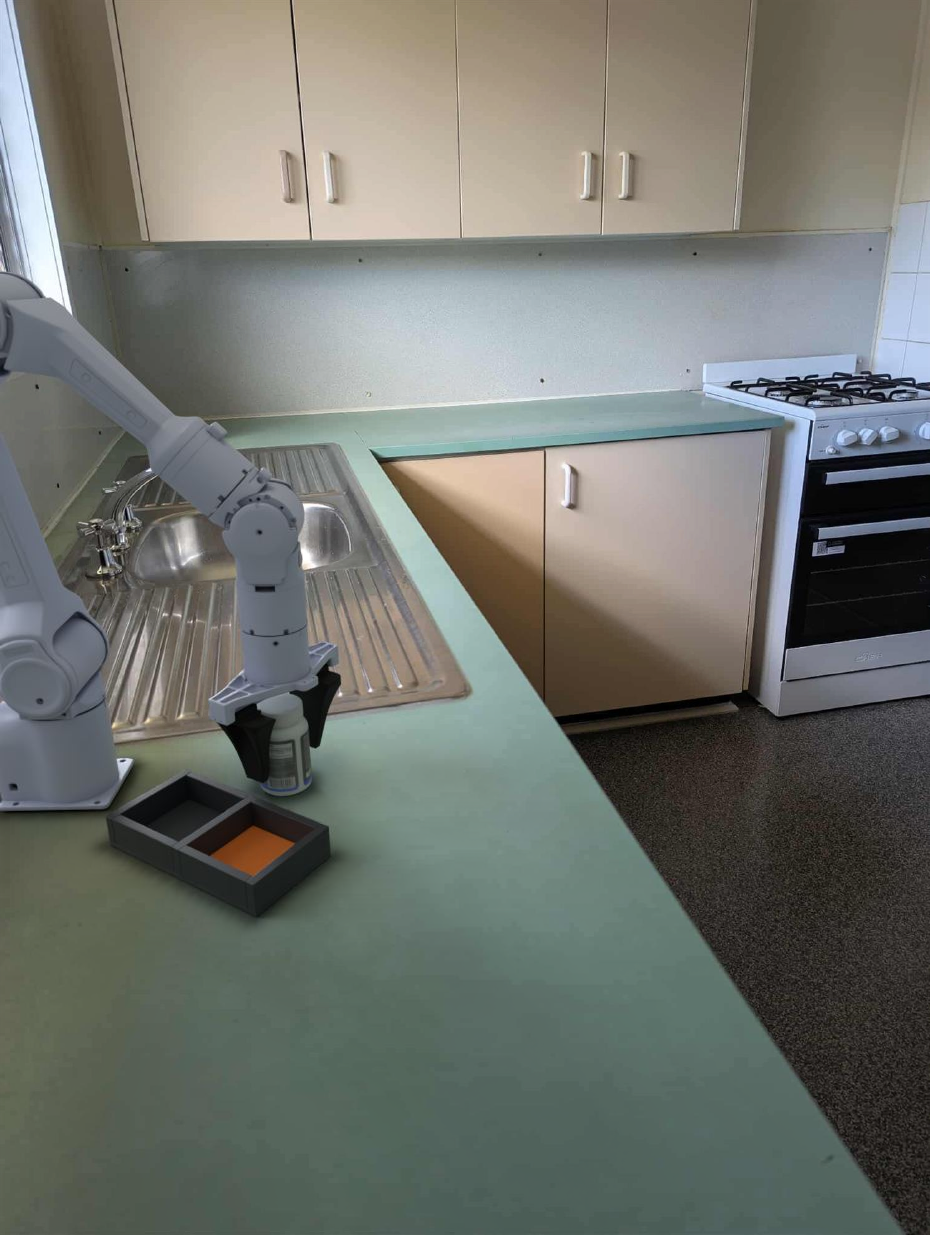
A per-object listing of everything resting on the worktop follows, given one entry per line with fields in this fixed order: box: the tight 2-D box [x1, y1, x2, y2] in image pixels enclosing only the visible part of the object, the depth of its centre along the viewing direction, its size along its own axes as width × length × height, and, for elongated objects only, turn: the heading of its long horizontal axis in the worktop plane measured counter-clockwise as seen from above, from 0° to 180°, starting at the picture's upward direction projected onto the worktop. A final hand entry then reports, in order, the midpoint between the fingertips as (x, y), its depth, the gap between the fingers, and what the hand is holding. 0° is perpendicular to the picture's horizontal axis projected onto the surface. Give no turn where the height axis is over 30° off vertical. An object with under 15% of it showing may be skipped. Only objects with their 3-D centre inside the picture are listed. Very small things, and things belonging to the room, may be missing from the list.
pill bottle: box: [257, 693, 313, 797], centre depth 80 cm, size 5×5×8 cm
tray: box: [105, 768, 332, 918], centre depth 71 cm, size 16×9×3 cm, turn 59°
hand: (284, 761), depth 80 cm, fingers open, 6 cm apart
